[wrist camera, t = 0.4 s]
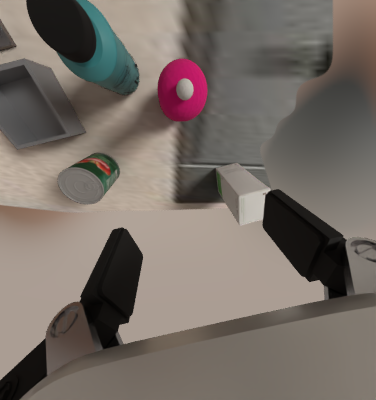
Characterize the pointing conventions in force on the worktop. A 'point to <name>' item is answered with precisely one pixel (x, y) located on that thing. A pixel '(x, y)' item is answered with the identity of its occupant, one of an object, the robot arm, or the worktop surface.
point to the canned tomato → (89, 178)
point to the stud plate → (5, 38)
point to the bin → (34, 105)
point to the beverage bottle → (85, 43)
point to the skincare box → (241, 193)
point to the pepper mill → (182, 90)
